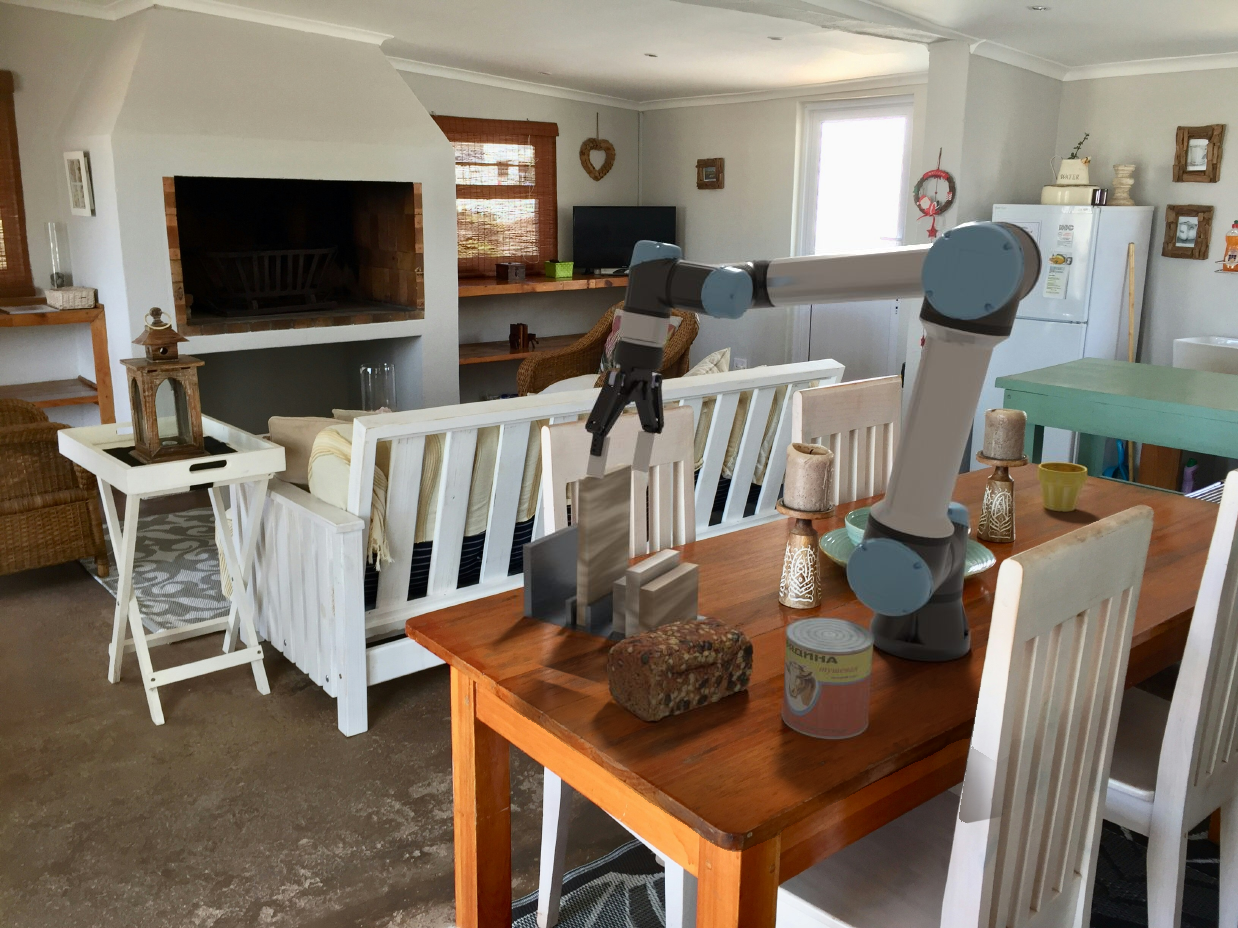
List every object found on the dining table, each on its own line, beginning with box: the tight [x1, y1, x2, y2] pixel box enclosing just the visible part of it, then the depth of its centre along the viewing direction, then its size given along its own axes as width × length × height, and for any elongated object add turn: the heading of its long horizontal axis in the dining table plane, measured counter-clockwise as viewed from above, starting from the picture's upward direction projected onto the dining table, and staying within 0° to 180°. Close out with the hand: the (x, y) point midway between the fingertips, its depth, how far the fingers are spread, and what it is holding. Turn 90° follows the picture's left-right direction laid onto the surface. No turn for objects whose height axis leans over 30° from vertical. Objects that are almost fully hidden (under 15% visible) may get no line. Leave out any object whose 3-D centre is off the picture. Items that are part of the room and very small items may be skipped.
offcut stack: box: [613, 548, 700, 638], centre depth 158 cm, size 8×14×11 cm, turn 147°
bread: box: [606, 617, 754, 723], centre depth 139 cm, size 19×11×10 cm, turn 126°
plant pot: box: [1037, 461, 1088, 513], centre depth 230 cm, size 10×10×10 cm
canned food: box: [781, 616, 874, 740], centre depth 132 cm, size 11×11×12 cm
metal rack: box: [522, 522, 708, 643], centre depth 162 cm, size 25×16×14 cm, turn 57°
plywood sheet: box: [577, 462, 632, 626], centre depth 161 cm, size 2×12×24 cm, turn 147°
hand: (618, 474), depth 161 cm, fingers open, 13 cm apart
